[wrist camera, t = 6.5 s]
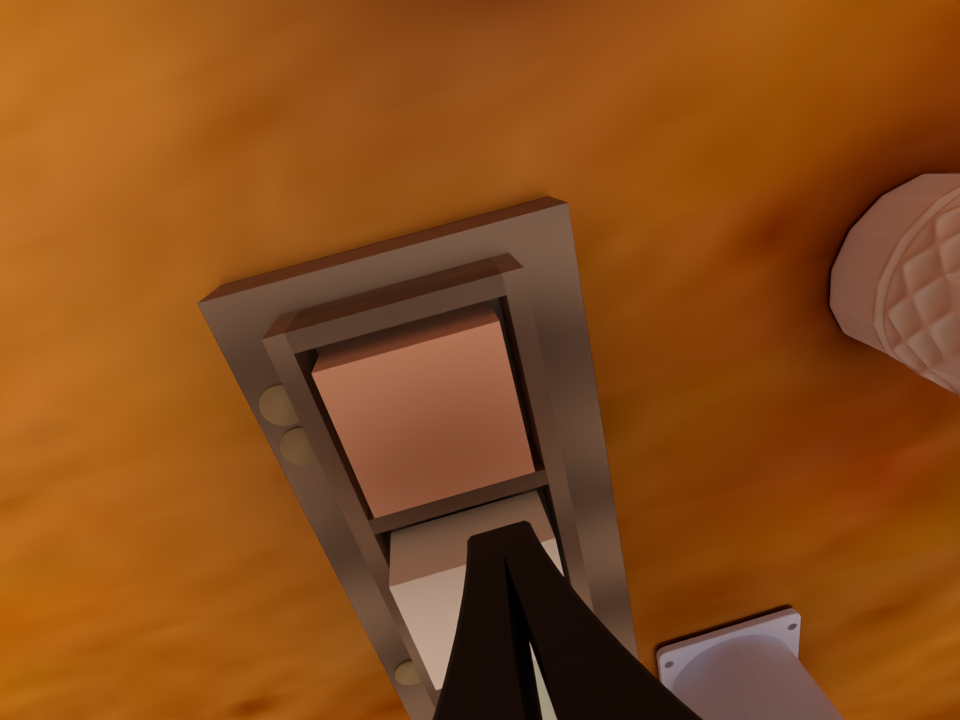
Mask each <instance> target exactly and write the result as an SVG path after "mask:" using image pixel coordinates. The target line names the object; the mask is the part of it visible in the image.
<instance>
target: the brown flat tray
mask: <svg viewBox="0 0 960 720" xmlns="http://www.w3.org/2000/svg"><path fill="white" fill-rule="evenodd" d="M486 300H488V301H489V303H490V305H491V307H492V309H493V310H494V312H495V314H496V316H497V318H498V319H499V322H500V326H501V330H502V334H503V338H504V343H505V347H506V351H507V355H508V360H509V364H510V368H511V372H512V376H513V381H514V385H515V389H516V393H517V398H518V402H519V406H520V410H521V415H522V419H523V423H524V427H525V431H526V436H527V440H528V444H529V448H530V453H531V457H532V461H533V465H534V469H535V472H533V473H530V474H526V475H523V476H519V477H516V478H513V479H509V480H506V481H502V482H499V483H495V484H492V485H488V486H485V487H482V488H478V489H475V490H471V491H468V492H464V493H461V494H457V495H454V496H450V497H447V498H444V499H440V500H437V501H433V502H430V503H426V504H423V505H419V506H416V507H413V508H409V509H406V510H402V511H399V512H395V513H392V514H388V515H385V516H382V517H378V518H374V516H373V514H372V511H371V509H370V507H369V505H368V502H367V500H366V498H365V495H364V493H363V491H362V489H361V486H360V484H359V482H358V479H357V477H356V475H355V472H354V470H353V468H352V466H351V463H350V461H349V459H348V456H347V454H346V452H345V450H344V447H343V445H342V443H341V440H340V438H339V436H338V433H337V431H336V429H335V427H334V424H333V422H332V420H331V417H330V415H329V413H328V411H327V408H326V406H325V404H324V401H323V399H322V397H321V394H320V392H319V390H318V388H317V385H316V383H315V381H314V378H313V376H312V374H311V373H312V371H313V368H314V366H315V363H316V361H317V358H318V356H319V354H320V351H321V349H322V346H324V345H328V344H331V343H335V342H338V341H342V340H346V339H349V338H353V337H357V336H360V335H364V334H367V333H371V332H375V331H378V330H382V329H385V328H389V327H393V326H396V325H400V324H403V323H407V322H411V321H414V320H418V319H422V318H425V317H429V316H432V315H436V314H440V313H443V312H447V311H450V310H454V309H458V308H461V307H465V306H468V305H472V304H476V303H479V302H483V301H486ZM197 304H198V306H199V308H200V310H201V312H202V314H203V316H204V318H205V319H206V321H207V323H208V325H209V327H210V329H211V331H212V333H213V335H214V337H215V339H216V341H217V343H218V345H219V347H220V349H221V351H222V353H223V355H224V356H225V358H226V360H227V362H228V364H229V366H230V368H231V370H232V372H233V374H234V376H235V378H236V380H237V382H238V384H239V386H240V388H241V390H242V392H243V393H244V395H245V397H246V399H247V401H248V403H249V405H250V407H251V409H252V411H253V413H254V415H255V417H256V419H257V421H258V423H259V425H260V427H261V429H262V430H263V432H264V434H265V436H266V438H267V440H268V442H269V444H270V446H271V448H272V450H273V452H274V454H275V456H276V458H277V460H278V462H279V464H280V466H281V467H282V469H283V471H284V473H285V475H286V477H287V479H288V481H289V483H290V485H291V487H292V489H293V491H294V493H295V495H296V497H297V499H298V501H299V502H300V504H301V506H302V508H303V510H304V512H305V514H306V516H307V518H308V520H309V522H310V524H311V526H312V528H313V530H314V532H315V534H316V536H317V538H318V539H319V541H320V543H321V545H322V547H323V549H324V551H325V553H326V555H327V557H328V559H329V561H330V563H331V565H332V567H333V569H334V571H335V573H336V575H337V576H338V578H339V580H340V582H341V584H342V586H343V588H344V590H345V592H346V594H347V596H348V598H349V600H350V602H351V604H352V606H353V608H354V610H355V612H356V613H357V615H358V617H359V619H360V621H361V623H362V625H363V627H364V629H365V631H366V633H367V635H368V637H369V639H370V641H371V643H372V645H373V647H374V649H375V650H376V652H377V654H378V656H379V658H380V660H381V662H382V664H383V666H384V668H385V670H386V672H387V674H388V676H389V678H390V680H391V682H392V684H393V685H394V687H395V689H396V691H397V693H398V695H399V697H400V699H401V701H402V703H403V705H404V707H405V709H406V711H407V713H408V715H409V717H410V719H411V720H433V716H434V713H435V710H436V707H437V703H438V700H439V697H440V693H441V689H439V690H436V689H435V687H434V685H433V683H432V681H431V678H430V676H429V674H428V672H427V670H426V667H425V665H424V663H423V661H422V659H421V656H420V654H419V652H418V650H417V648H416V645H415V643H414V641H413V639H412V637H411V634H410V632H409V630H408V628H407V626H406V623H405V621H404V619H403V617H402V615H401V612H400V610H399V608H398V606H397V604H396V601H395V599H394V597H393V595H392V593H391V591H390V588H389V574H390V544H391V532H394V531H398V530H401V529H405V528H408V527H412V526H415V525H418V524H422V523H425V522H429V521H432V520H436V519H439V518H442V517H446V516H449V515H453V514H456V513H460V512H463V511H466V510H470V509H473V508H477V507H480V506H484V505H487V504H490V503H494V502H497V501H501V500H504V499H508V498H511V497H514V496H518V495H521V494H525V493H528V492H532V491H535V490H537V493H538V495H539V498H540V500H541V503H542V506H543V508H544V511H545V513H546V516H547V518H548V521H549V524H550V526H551V529H552V531H553V534H554V536H555V540H556V544H557V548H558V553H559V557H560V561H561V566H562V570H563V574H564V577H565V579H566V580H567V581H568V582H569V584H570V585H571V586H572V588H573V589H574V590H575V591H576V593H577V594H578V595H579V596H580V598H581V599H582V600H583V601H584V602H585V604H586V605H587V606H588V607H589V608H590V610H591V611H592V612H593V613H594V614H595V615H596V616H597V618H598V619H599V620H600V621H601V622H602V623H603V624H604V625H605V626H606V628H607V629H608V630H609V631H610V632H611V633H612V634H613V635H614V636H615V637H616V638H617V639H618V641H619V642H620V643H621V644H622V645H623V646H624V647H625V648H626V649H627V650H628V651H629V652H630V653H631V654H632V655H633V656H634V657H635V658H636V659H637V660H638V661H639V659H638V653H637V646H636V640H635V633H634V627H633V620H632V614H631V607H630V601H629V594H628V588H627V581H626V575H625V568H624V562H623V556H622V549H621V543H620V536H619V530H618V523H617V517H616V510H615V504H614V497H613V491H612V484H611V478H610V471H609V465H608V459H607V452H606V446H605V439H604V433H603V426H602V420H601V413H600V407H599V400H598V394H597V387H596V381H595V374H594V368H593V361H592V355H591V349H590V342H589V336H588V329H587V323H586V316H585V310H584V303H583V297H582V290H581V284H580V277H579V271H578V264H577V258H576V251H575V245H574V239H573V232H572V226H571V219H570V213H569V206H568V203H567V202H564V201H561V200H558V199H555V198H552V197H546V198H542V199H538V200H535V201H531V202H527V203H524V204H520V205H516V206H512V207H509V208H505V209H501V210H498V211H494V212H490V213H487V214H483V215H479V216H476V217H472V218H468V219H464V220H461V221H457V222H453V223H450V224H446V225H442V226H439V227H435V228H431V229H428V230H424V231H420V232H417V233H413V234H409V235H405V236H402V237H398V238H394V239H391V240H387V241H383V242H380V243H376V244H372V245H369V246H365V247H361V248H357V249H354V250H350V251H346V252H343V253H339V254H335V255H332V256H328V257H324V258H321V259H317V260H313V261H309V262H306V263H302V264H298V265H295V266H291V267H287V268H284V269H280V270H276V271H273V272H269V273H265V274H261V275H258V276H254V277H250V278H247V279H243V280H239V281H236V282H232V283H228V284H225V285H221V286H220V287H218V288H217V289H216V290H214V291H213V292H212V293H210V294H209V295H208V296H206V297H205V298H204V299H202V300H201V301H200V302H198V303H197Z"/></svg>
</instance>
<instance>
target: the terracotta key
mask: <svg viewBox="0 0 960 720" xmlns="http://www.w3.org/2000/svg"><path fill="white" fill-rule="evenodd" d="M311 374H312V376H313V378H314V381H315V383H316V385H317V388H318V390H319V392H320V394H321V397H322V399H323V401H324V404H325V406H326V408H327V411H328V413H329V415H330V417H331V420H332V422H333V424H334V427H335V429H336V431H337V433H338V436H339V438H340V440H341V443H342V445H343V447H344V450H345V452H346V454H347V456H348V459H349V461H350V463H351V466H352V468H353V470H354V472H355V475H356V477H357V479H358V482H359V484H360V486H361V489H362V491H363V493H364V495H365V498H366V500H367V502H368V505H369V507H370V509H371V511H372V514H373V516H374V518H378V517H382V516H385V515H388V514H392V513H395V512H399V511H402V510H406V509H409V508H413V507H416V506H419V505H423V504H426V503H430V502H433V501H437V500H440V499H444V498H447V497H450V496H454V495H457V494H461V493H464V492H468V491H471V490H475V489H478V488H482V487H485V486H488V485H492V484H495V483H499V482H502V481H506V480H509V479H513V478H516V477H519V476H523V475H526V474H530V473H533V472H535V469H534V465H533V461H532V457H531V453H530V448H529V444H528V440H527V436H526V431H525V427H524V423H523V419H522V415H521V410H520V406H519V402H518V398H517V393H516V389H515V385H514V381H513V376H512V372H511V368H510V364H509V360H508V355H507V351H506V347H505V343H504V338H503V334H502V330H501V326H500V322H499V319H498V318H497V316H496V314H495V312H494V310H493V309H492V307H491V305H490V303H489V301H488V300H486V301H483V302H479V303H476V304H472V305H468V306H465V307H461V308H458V309H454V310H450V311H447V312H443V313H440V314H436V315H432V316H429V317H425V318H422V319H418V320H414V321H411V322H407V323H403V324H400V325H396V326H393V327H389V328H385V329H382V330H378V331H375V332H371V333H367V334H364V335H360V336H357V337H353V338H349V339H346V340H342V341H338V342H335V343H331V344H328V345H324V346H322V349H321V351H320V354H319V356H318V358H317V361H316V363H315V366H314V368H313V371H312V373H311Z"/></svg>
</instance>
